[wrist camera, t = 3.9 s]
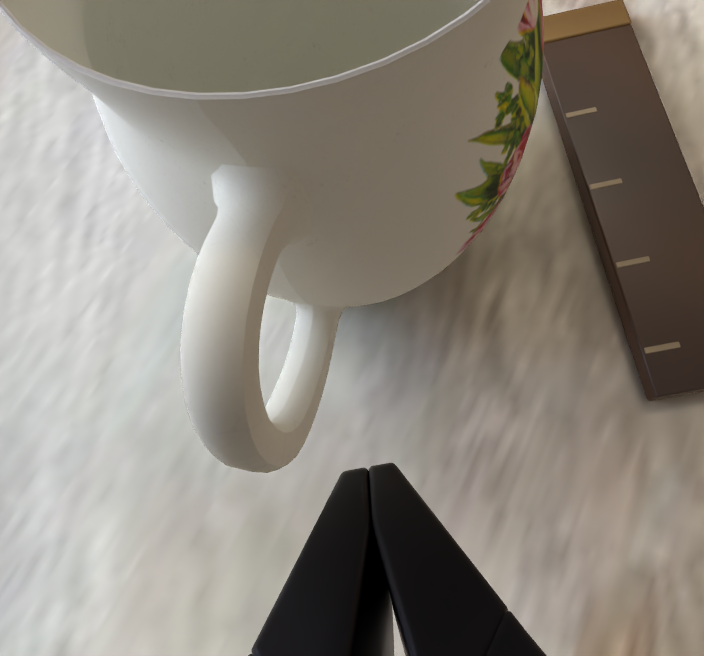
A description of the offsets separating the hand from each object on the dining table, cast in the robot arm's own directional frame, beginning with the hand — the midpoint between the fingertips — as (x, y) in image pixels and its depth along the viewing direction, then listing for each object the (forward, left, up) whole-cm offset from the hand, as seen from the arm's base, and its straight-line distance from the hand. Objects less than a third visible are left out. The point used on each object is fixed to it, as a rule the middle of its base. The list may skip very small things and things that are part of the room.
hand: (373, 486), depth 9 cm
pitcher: (+8, -5, -10) cm, 14 cm away
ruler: (+3, -13, -10) cm, 17 cm away
